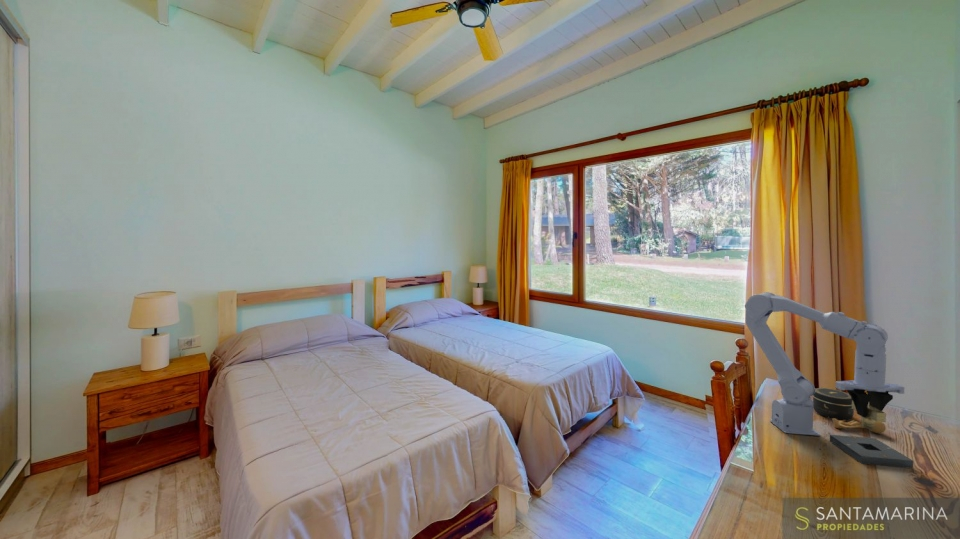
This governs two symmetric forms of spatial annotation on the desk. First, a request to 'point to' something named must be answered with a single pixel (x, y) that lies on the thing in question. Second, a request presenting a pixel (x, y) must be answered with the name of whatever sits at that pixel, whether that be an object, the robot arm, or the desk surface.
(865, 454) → the key plate
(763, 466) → the desk surface
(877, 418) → the t key
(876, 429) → the figurine
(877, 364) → the robot arm
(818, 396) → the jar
